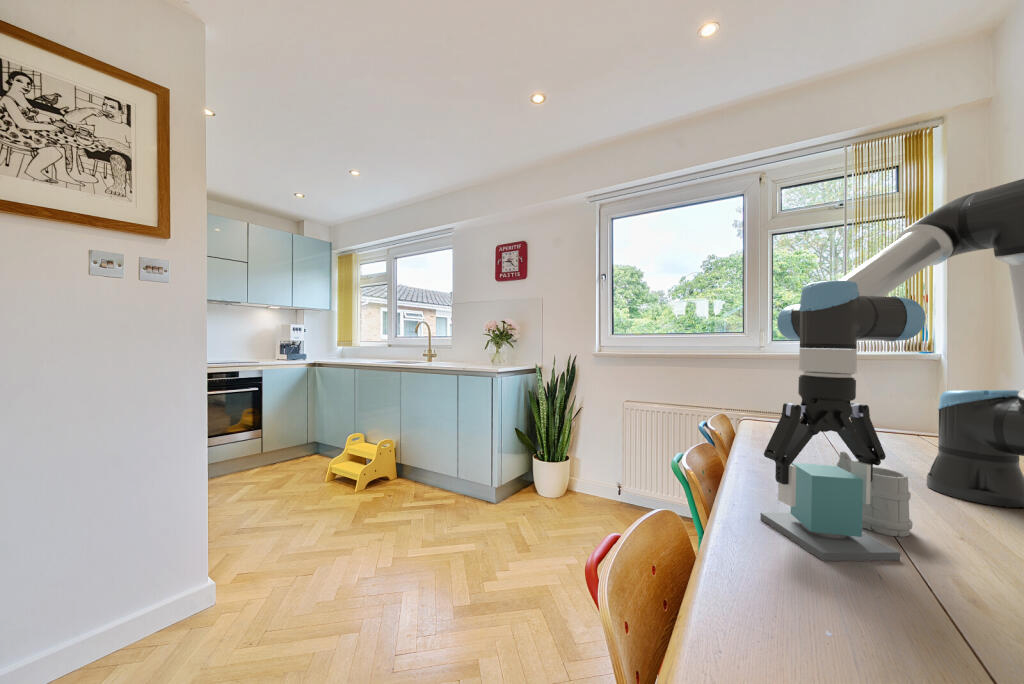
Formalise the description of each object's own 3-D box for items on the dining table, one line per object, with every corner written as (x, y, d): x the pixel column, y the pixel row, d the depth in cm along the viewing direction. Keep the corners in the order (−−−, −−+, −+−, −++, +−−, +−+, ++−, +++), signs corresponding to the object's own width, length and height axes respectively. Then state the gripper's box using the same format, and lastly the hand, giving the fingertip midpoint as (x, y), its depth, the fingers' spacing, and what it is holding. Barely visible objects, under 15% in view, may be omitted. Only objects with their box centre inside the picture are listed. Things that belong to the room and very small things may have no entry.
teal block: (790, 513, 71) (791, 462, 71) (836, 517, 69) (837, 466, 69) (810, 531, 64) (811, 475, 64) (861, 537, 63) (862, 479, 63)
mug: (901, 541, 66) (902, 469, 66) (819, 513, 76) (820, 451, 76) (920, 532, 69) (921, 463, 69) (839, 506, 80) (840, 446, 80)
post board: (823, 519, 74) (824, 477, 74) (900, 560, 60) (901, 509, 60) (760, 519, 74) (761, 477, 74) (823, 560, 60) (824, 509, 60)
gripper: (870, 373, 72) (867, 491, 72) (741, 372, 69) (739, 495, 69) (916, 377, 65) (914, 509, 65) (775, 376, 62) (772, 514, 62)
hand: (823, 502), depth 67 cm, fingers open, 13 cm apart
